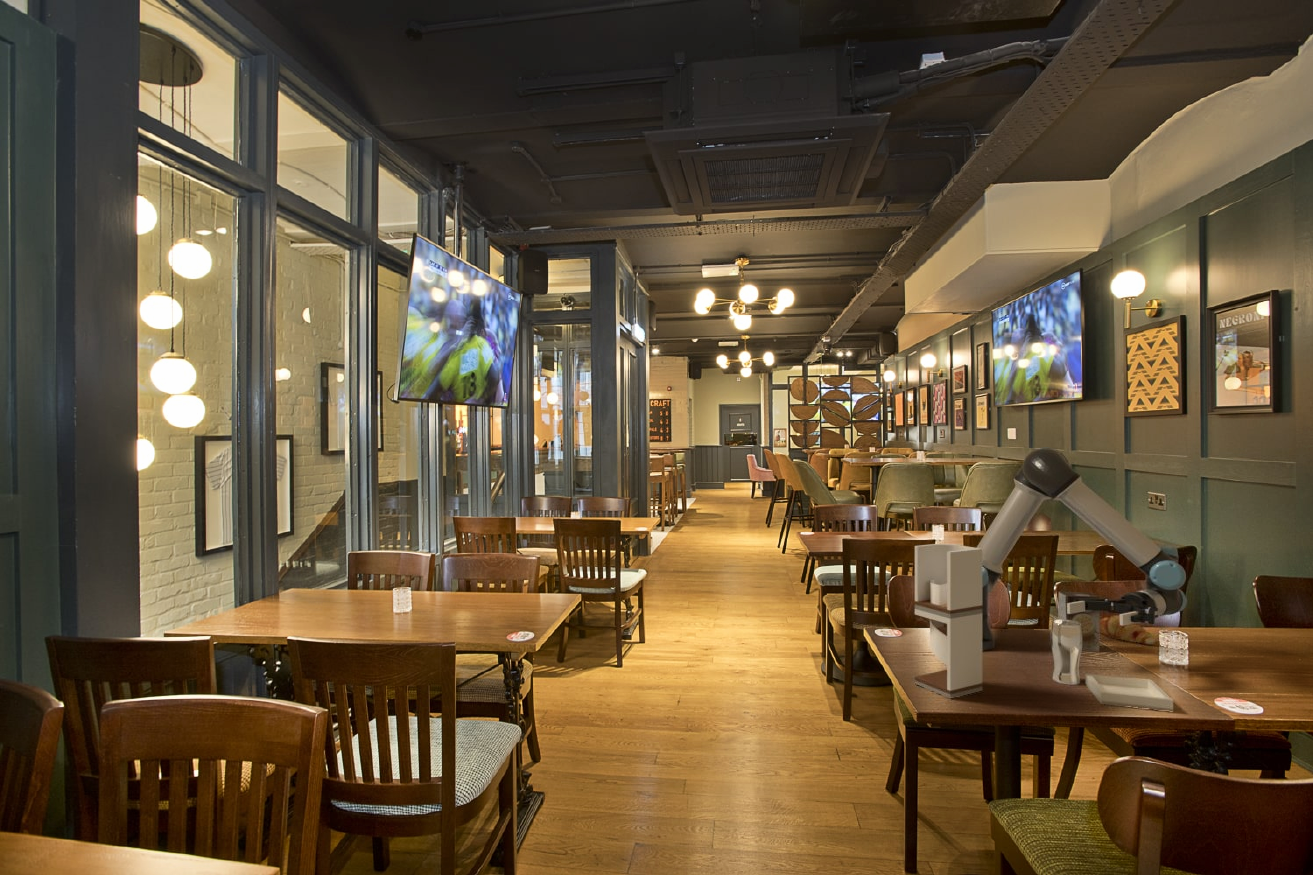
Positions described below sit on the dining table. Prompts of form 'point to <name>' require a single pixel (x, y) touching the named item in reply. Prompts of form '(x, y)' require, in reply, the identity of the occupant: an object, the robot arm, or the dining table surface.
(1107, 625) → the croissant
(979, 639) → the tall white shelf unit
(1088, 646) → the coffee box
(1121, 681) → the dish
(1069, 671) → the beer glass
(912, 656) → the dining table surface
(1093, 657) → the dining table surface
